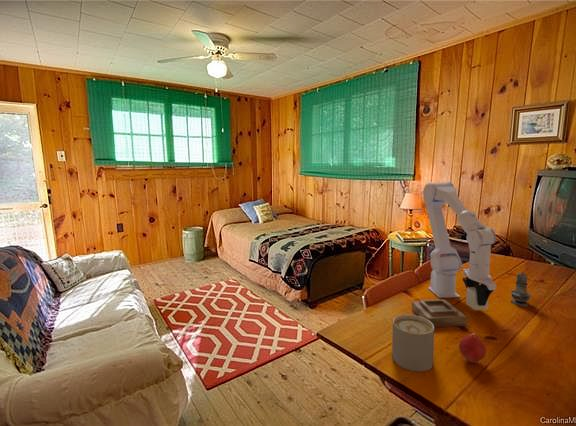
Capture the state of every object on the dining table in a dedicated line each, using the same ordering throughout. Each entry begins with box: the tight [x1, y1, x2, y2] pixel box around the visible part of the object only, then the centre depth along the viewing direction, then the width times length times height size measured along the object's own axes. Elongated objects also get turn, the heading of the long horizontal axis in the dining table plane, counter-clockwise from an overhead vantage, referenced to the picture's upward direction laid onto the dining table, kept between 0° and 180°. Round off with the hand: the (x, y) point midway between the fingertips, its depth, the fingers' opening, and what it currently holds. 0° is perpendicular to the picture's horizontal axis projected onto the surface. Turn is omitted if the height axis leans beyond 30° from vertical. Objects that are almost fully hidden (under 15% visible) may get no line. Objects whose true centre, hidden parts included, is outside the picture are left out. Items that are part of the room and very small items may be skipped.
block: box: [465, 287, 489, 311], centre depth 101 cm, size 4×4×6 cm
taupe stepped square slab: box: [411, 298, 467, 328], centre depth 99 cm, size 12×12×4 cm
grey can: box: [391, 313, 435, 372], centre depth 78 cm, size 13×10×10 cm
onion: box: [458, 333, 487, 364], centre depth 76 cm, size 6×6×8 cm
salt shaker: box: [510, 271, 532, 307], centre depth 106 cm, size 6×6×12 cm
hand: (476, 301), depth 102 cm, fingers closed on block, 4 cm apart
